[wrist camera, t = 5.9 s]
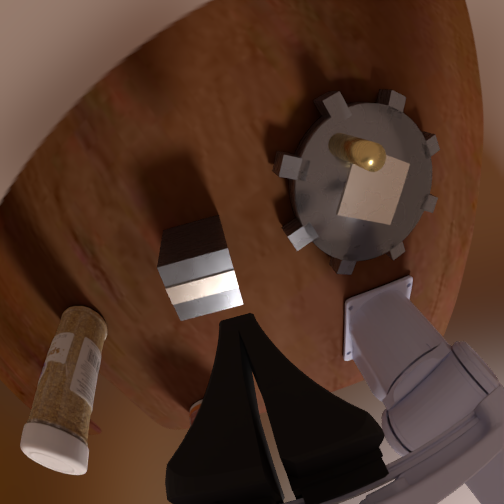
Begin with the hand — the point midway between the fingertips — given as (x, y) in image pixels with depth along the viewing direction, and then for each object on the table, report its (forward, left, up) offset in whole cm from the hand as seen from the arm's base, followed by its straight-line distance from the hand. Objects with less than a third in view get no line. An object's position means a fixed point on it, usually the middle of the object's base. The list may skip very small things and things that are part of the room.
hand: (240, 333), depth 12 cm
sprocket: (+1, -11, -10) cm, 15 cm away
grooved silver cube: (-1, +2, -10) cm, 10 cm away
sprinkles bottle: (-5, +14, -10) cm, 18 cm away
